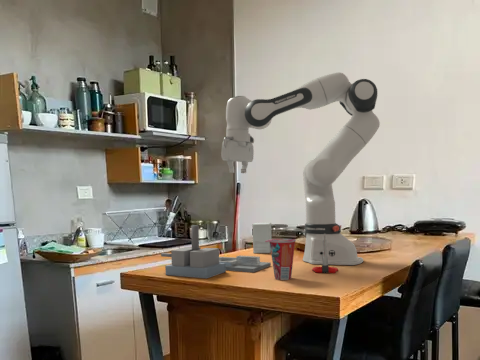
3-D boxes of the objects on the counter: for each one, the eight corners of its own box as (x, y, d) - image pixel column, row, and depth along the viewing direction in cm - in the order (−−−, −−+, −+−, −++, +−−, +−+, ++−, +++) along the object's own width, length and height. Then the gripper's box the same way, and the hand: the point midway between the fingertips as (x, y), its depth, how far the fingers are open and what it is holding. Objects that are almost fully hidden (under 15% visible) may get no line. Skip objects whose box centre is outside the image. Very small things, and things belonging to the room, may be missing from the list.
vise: (225, 272, 160) (224, 224, 161) (206, 278, 150) (205, 227, 150) (172, 267, 171) (171, 223, 171) (151, 273, 160) (150, 226, 160)
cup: (280, 274, 154) (280, 237, 154) (302, 278, 148) (301, 239, 148) (261, 279, 147) (261, 240, 147) (283, 282, 141) (282, 242, 141)
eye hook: (206, 264, 169) (206, 256, 169) (220, 260, 178) (220, 252, 178) (251, 268, 160) (251, 259, 160) (264, 263, 169) (264, 255, 169)
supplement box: (272, 251, 210) (271, 222, 210) (269, 253, 202) (269, 223, 203) (256, 250, 211) (255, 222, 212) (252, 253, 204) (252, 223, 204)
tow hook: (312, 269, 165) (312, 273, 156) (311, 232, 165) (311, 233, 156) (337, 270, 163) (338, 273, 154) (336, 232, 164) (337, 233, 155)
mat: (270, 265, 171) (270, 262, 171) (253, 272, 159) (253, 268, 159) (218, 262, 182) (218, 259, 182) (198, 268, 169) (198, 264, 169)
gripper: (231, 135, 176) (232, 172, 176) (256, 139, 194) (256, 173, 194) (216, 136, 179) (217, 172, 179) (242, 140, 197) (243, 173, 197)
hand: (238, 173), depth 187 cm, fingers open, 8 cm apart
